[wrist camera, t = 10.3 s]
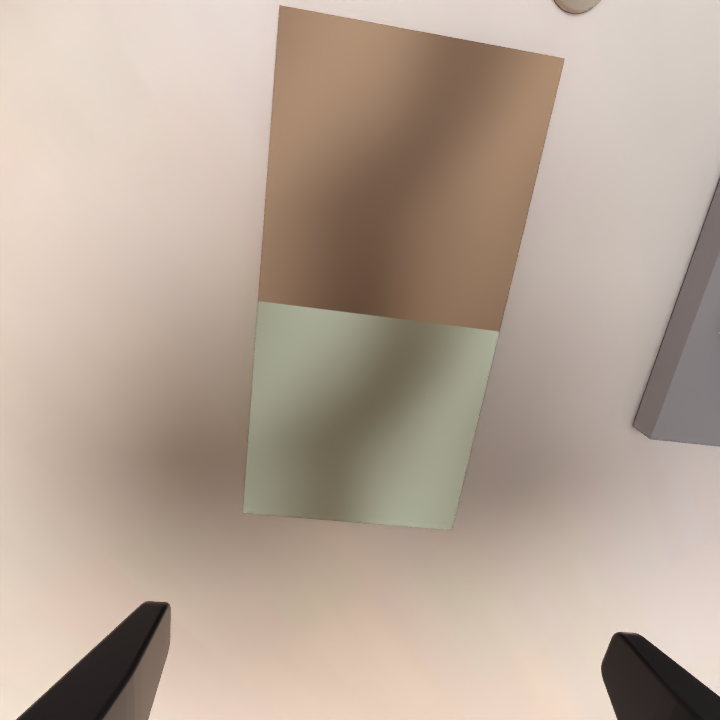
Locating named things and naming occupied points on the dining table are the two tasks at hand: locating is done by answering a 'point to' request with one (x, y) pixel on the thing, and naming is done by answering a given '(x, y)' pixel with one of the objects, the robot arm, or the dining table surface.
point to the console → (690, 353)
